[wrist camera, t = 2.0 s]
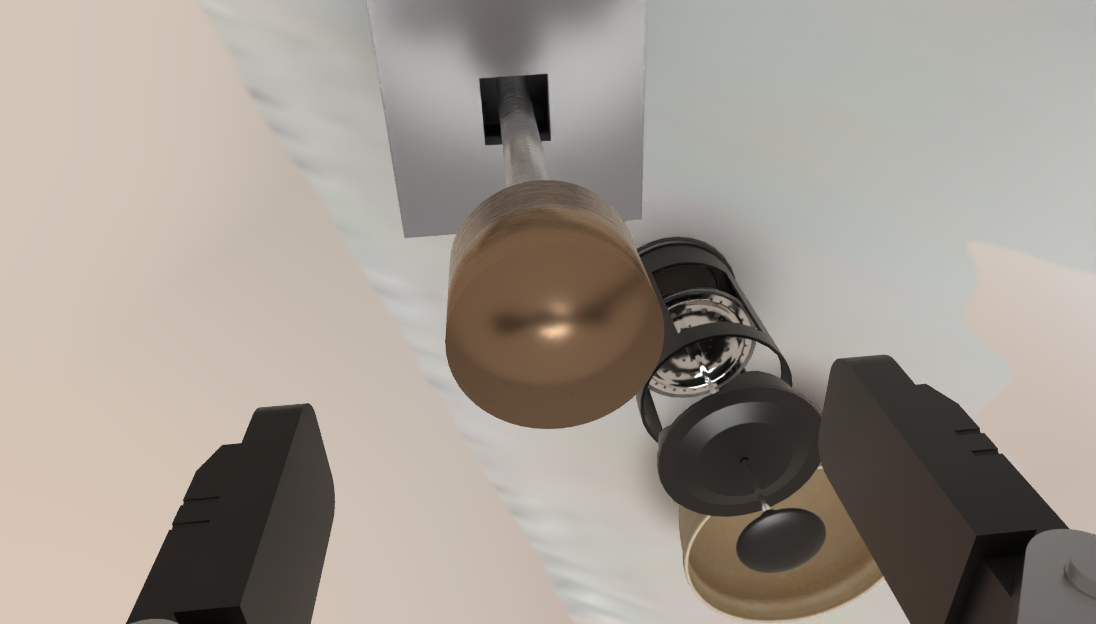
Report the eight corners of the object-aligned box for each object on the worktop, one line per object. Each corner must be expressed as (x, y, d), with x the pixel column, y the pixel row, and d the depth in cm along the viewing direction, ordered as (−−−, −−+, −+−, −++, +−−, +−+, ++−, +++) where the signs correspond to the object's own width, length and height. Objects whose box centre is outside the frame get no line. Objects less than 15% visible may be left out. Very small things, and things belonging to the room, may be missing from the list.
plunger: (569, -21, 33) (731, 175, 12) (572, 113, 36) (707, 452, 15) (432, -13, 32) (361, 204, 12) (448, 122, 36) (413, 479, 15)
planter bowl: (681, 361, 56) (722, 459, 47) (875, 379, 59) (950, 475, 50) (634, 512, 64) (661, 622, 55) (806, 522, 67) (860, 628, 58)
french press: (571, 290, 52) (630, 546, 33) (676, 203, 50) (809, 426, 30) (671, 384, 57) (774, 654, 38) (771, 309, 55) (939, 559, 35)
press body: (577, -79, 40) (647, -40, 24) (581, 91, 45) (641, 219, 29) (407, -69, 40) (362, -23, 24) (429, 102, 45) (404, 238, 28)
